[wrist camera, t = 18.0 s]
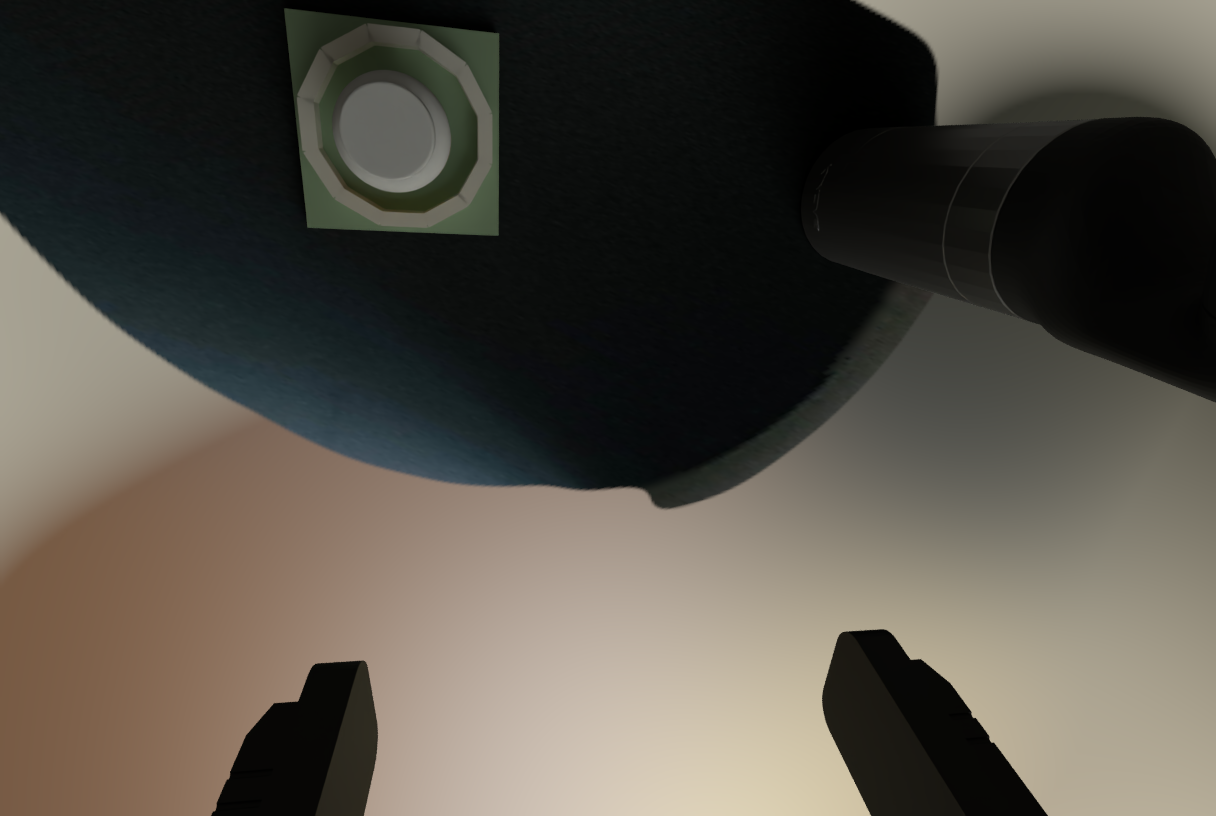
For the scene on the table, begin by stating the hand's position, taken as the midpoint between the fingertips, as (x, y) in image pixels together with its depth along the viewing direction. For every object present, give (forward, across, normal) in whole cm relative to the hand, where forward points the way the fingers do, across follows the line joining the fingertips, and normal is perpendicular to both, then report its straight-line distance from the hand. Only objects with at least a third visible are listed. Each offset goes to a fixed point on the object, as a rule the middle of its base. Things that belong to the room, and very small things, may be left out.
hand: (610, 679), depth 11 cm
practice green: (+34, +8, -7) cm, 35 cm away
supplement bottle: (+33, +8, -7) cm, 35 cm away
